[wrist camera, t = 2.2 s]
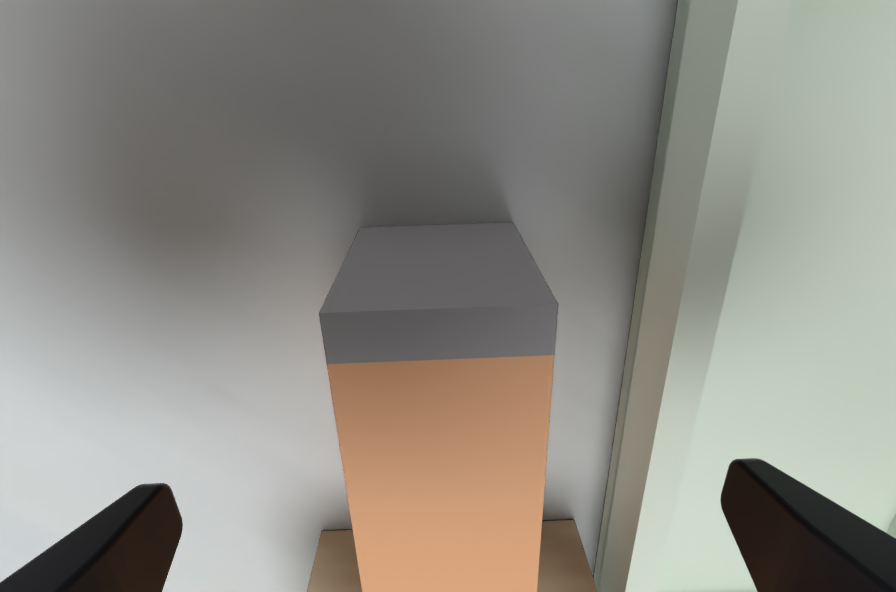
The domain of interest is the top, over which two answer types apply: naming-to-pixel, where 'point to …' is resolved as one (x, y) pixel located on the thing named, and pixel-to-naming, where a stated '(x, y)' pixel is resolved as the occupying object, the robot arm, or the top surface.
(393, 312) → the orange rectangular block
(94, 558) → the robot arm
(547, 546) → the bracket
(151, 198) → the top surface
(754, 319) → the tray
